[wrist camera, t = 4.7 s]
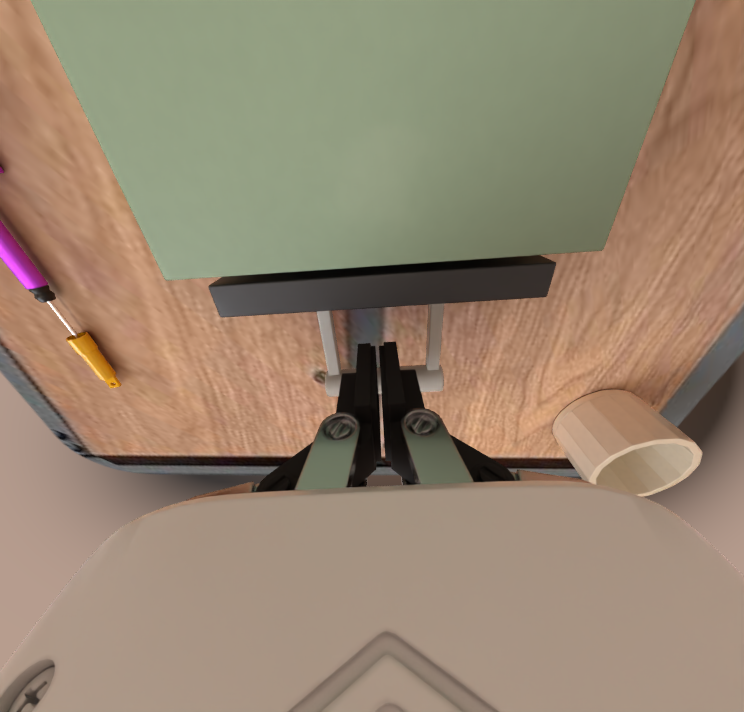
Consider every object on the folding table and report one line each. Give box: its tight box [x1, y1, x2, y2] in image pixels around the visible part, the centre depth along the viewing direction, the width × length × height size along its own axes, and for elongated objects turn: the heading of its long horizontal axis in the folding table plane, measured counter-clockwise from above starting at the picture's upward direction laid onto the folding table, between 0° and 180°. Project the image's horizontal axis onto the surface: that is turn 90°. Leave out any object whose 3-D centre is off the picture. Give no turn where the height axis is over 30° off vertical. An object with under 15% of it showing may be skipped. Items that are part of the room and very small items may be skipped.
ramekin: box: [552, 389, 702, 497], centre depth 22 cm, size 7×7×5 cm
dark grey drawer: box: [209, 255, 556, 397], centre depth 10 cm, size 19×12×7 cm, turn 4°
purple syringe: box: [0, 167, 122, 388], centre depth 17 cm, size 3×1×16 cm
